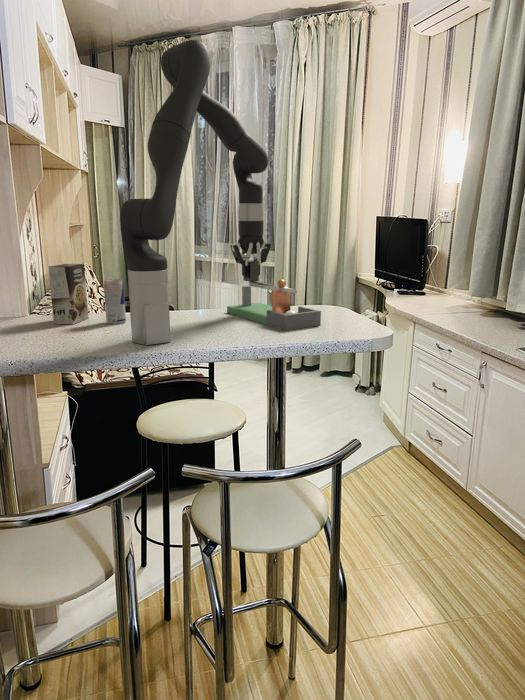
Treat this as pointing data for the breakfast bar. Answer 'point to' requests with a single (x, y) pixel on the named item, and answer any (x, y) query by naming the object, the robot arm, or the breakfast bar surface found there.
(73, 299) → the coffee box
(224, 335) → the breakfast bar surface
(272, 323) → the pitch
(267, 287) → the kicker rod
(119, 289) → the energy drink
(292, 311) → the ball
